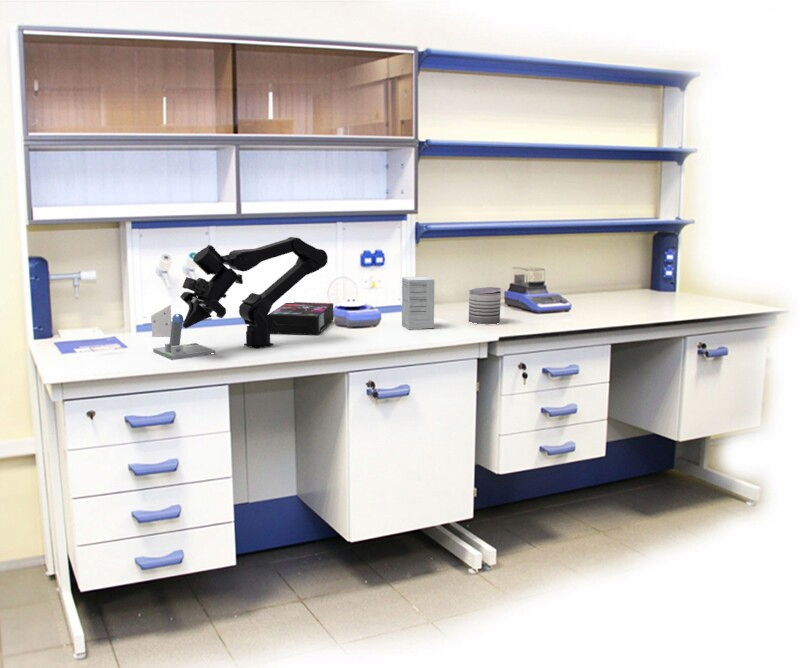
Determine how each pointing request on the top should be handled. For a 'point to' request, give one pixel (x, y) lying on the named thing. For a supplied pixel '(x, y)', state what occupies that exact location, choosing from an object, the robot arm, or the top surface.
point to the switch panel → (183, 351)
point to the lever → (176, 330)
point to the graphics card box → (301, 318)
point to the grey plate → (162, 323)
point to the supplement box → (417, 302)
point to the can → (484, 305)
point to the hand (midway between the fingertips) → (184, 327)
